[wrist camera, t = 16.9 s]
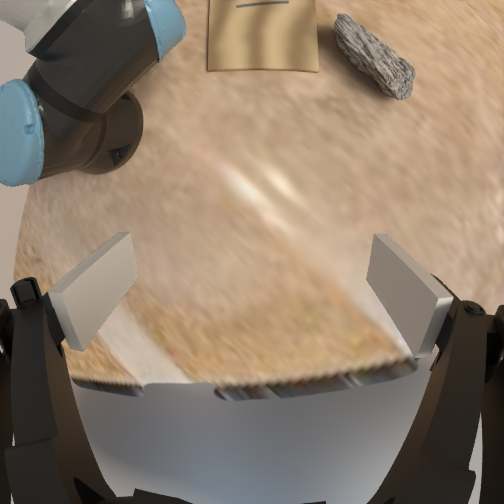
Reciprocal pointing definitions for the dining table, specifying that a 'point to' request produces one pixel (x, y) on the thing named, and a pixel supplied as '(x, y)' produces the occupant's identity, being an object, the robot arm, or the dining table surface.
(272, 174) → the dining table surface
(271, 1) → the board
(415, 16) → the dining table surface
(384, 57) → the rock
